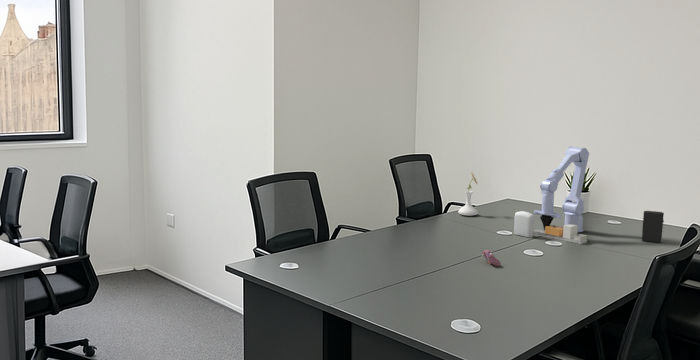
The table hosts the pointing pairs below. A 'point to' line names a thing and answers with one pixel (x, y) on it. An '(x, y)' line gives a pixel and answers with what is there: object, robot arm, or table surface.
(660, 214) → the card reader
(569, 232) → the block
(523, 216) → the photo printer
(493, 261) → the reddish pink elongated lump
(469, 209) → the flower in vase
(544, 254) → the table surface
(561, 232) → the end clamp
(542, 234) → the mounting rail
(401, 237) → the table surface
